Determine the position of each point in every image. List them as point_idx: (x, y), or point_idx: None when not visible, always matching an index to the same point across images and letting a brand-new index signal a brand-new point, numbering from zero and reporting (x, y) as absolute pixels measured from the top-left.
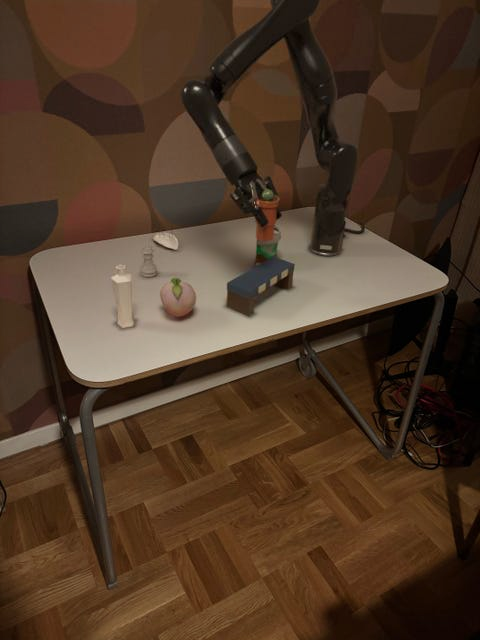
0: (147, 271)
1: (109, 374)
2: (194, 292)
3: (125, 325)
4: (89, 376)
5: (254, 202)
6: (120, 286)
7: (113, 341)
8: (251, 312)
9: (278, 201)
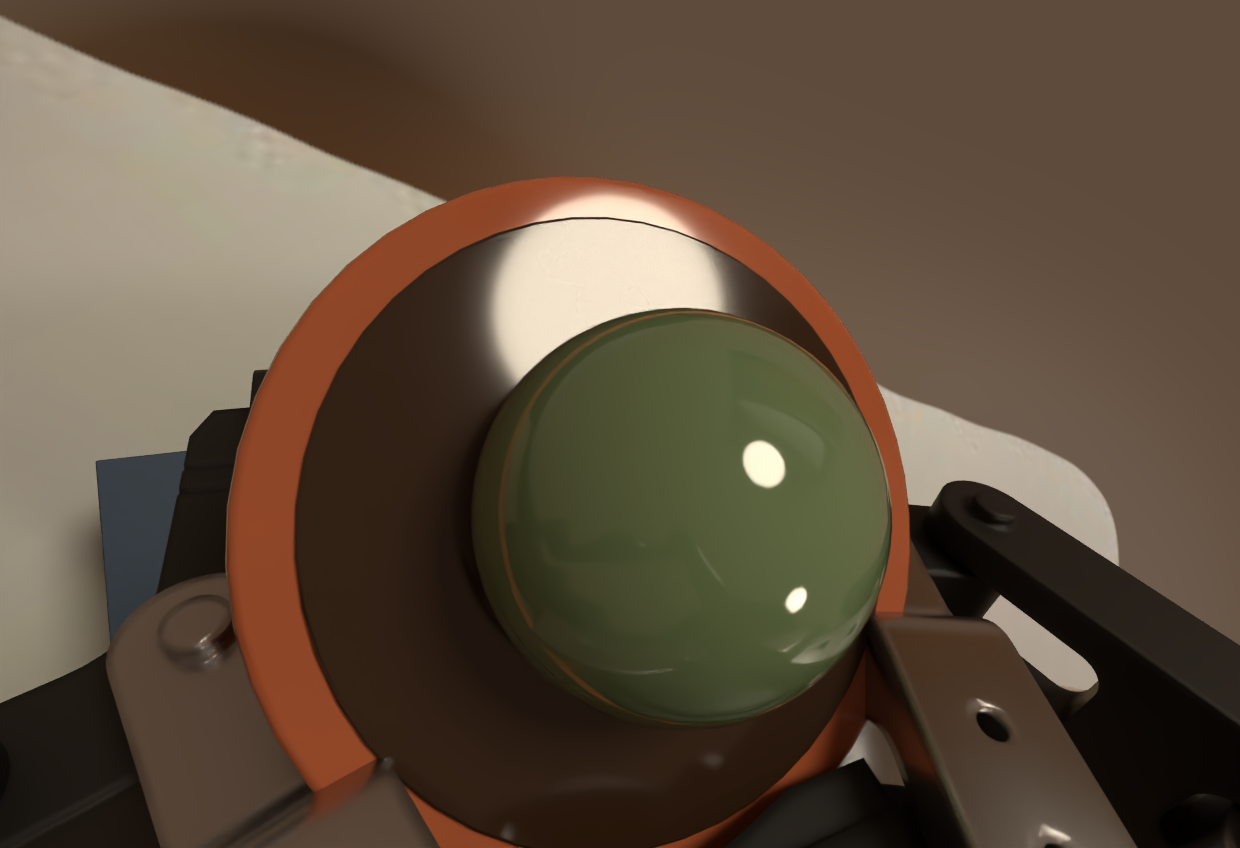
0: None
1: (1067, 479)
2: None
3: None
4: (1100, 506)
5: (924, 583)
6: None
7: (1018, 614)
8: None
9: (522, 192)
